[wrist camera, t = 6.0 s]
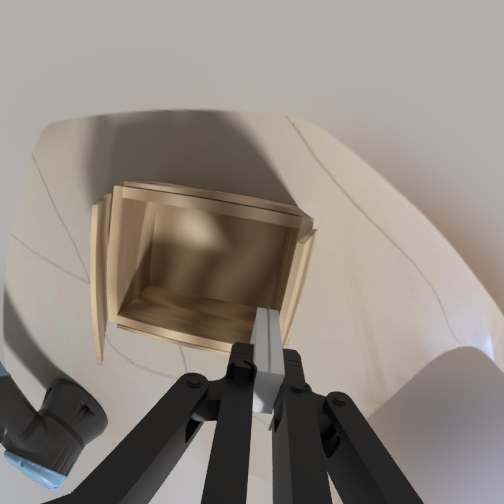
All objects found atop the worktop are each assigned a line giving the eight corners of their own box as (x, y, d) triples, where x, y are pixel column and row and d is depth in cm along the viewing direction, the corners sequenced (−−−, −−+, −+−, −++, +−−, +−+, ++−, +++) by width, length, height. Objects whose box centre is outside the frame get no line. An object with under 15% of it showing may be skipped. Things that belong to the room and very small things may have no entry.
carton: (143, 291, 36) (109, 324, 26) (154, 179, 32) (114, 180, 23) (274, 318, 36) (277, 363, 26) (300, 204, 32) (315, 213, 23)
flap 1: (107, 316, 26) (103, 316, 25) (111, 193, 23) (107, 192, 22) (102, 364, 19) (97, 364, 18) (98, 205, 16) (92, 204, 15)
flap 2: (253, 408, 18) (258, 410, 18) (296, 242, 15) (304, 244, 15) (280, 356, 26) (283, 357, 26) (313, 228, 23) (317, 229, 22)
